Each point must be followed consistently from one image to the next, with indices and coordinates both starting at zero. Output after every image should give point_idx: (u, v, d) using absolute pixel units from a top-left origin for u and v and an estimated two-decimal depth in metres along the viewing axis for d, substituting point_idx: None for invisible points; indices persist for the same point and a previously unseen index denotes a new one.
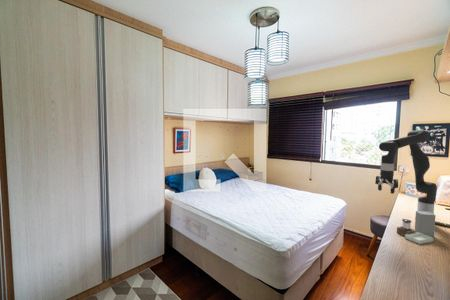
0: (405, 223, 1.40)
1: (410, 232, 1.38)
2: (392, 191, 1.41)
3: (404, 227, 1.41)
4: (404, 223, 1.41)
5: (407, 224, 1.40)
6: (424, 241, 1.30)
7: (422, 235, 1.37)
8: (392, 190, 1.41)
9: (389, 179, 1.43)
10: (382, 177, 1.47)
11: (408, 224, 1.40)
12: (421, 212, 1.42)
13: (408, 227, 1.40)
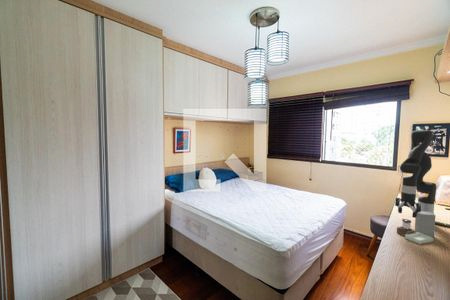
0: (405, 223, 1.40)
1: (410, 232, 1.38)
2: (414, 215, 1.36)
3: (404, 227, 1.41)
4: (404, 223, 1.41)
5: (407, 224, 1.40)
6: (424, 241, 1.30)
7: (422, 235, 1.37)
8: (414, 214, 1.36)
9: (411, 202, 1.38)
10: (403, 199, 1.42)
11: (408, 224, 1.40)
12: (421, 212, 1.42)
13: (408, 227, 1.40)
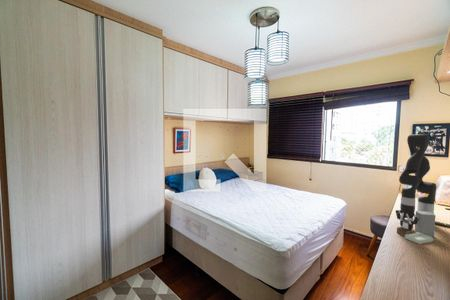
0: (405, 223, 1.40)
1: (410, 232, 1.38)
2: (410, 227, 1.38)
3: (404, 227, 1.41)
4: (404, 223, 1.41)
5: (407, 224, 1.40)
6: (424, 241, 1.30)
7: (422, 235, 1.37)
8: (410, 226, 1.38)
9: (410, 214, 1.38)
10: (402, 210, 1.43)
11: (408, 224, 1.40)
12: (421, 212, 1.42)
13: (408, 227, 1.40)
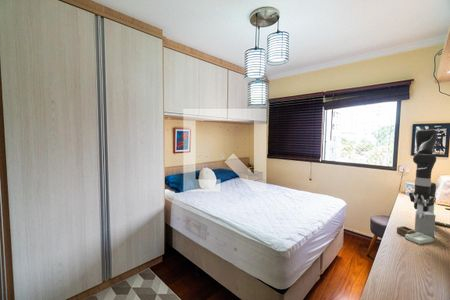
0: (420, 205, 1.32)
1: (410, 232, 1.38)
2: (426, 209, 1.30)
3: (419, 210, 1.32)
4: (419, 205, 1.32)
5: (422, 206, 1.31)
6: (424, 241, 1.30)
7: (422, 235, 1.37)
8: (426, 208, 1.30)
9: (426, 195, 1.29)
10: (416, 192, 1.34)
11: (423, 206, 1.31)
12: None
13: (423, 209, 1.31)
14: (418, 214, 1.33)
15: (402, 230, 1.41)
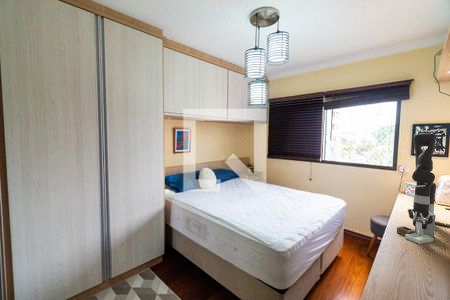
0: (418, 223, 1.32)
1: (410, 232, 1.38)
2: (424, 227, 1.30)
3: (417, 227, 1.33)
4: (417, 223, 1.33)
5: (421, 224, 1.32)
6: (424, 241, 1.30)
7: None
8: (424, 226, 1.30)
9: (424, 213, 1.30)
10: (415, 209, 1.35)
11: (422, 224, 1.32)
12: None
13: (422, 227, 1.32)
14: (417, 231, 1.33)
15: (402, 230, 1.41)
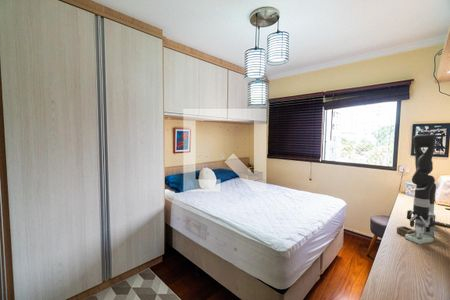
0: (418, 227, 1.33)
1: (410, 232, 1.38)
2: (428, 230, 1.29)
3: (417, 231, 1.33)
4: (417, 227, 1.33)
5: (420, 228, 1.32)
6: (424, 241, 1.30)
7: None
8: (428, 229, 1.29)
9: (424, 216, 1.30)
10: (415, 212, 1.35)
11: (421, 228, 1.32)
12: None
13: (421, 231, 1.32)
14: (417, 236, 1.33)
15: (402, 230, 1.41)
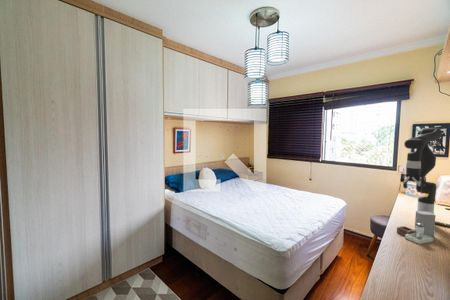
0: (418, 227, 1.33)
1: (410, 232, 1.38)
2: (419, 189, 1.39)
3: (417, 231, 1.33)
4: (417, 227, 1.33)
5: (420, 228, 1.32)
6: (424, 241, 1.30)
7: None
8: (419, 188, 1.39)
9: (416, 177, 1.41)
10: (408, 175, 1.46)
11: (422, 228, 1.32)
12: (421, 212, 1.42)
13: (422, 231, 1.32)
14: (417, 236, 1.33)
15: (402, 230, 1.41)
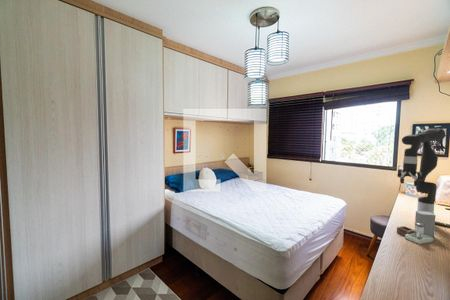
0: (418, 227, 1.33)
1: (410, 232, 1.38)
2: (416, 183, 1.44)
3: (417, 231, 1.33)
4: (417, 227, 1.33)
5: (420, 228, 1.32)
6: (424, 241, 1.30)
7: None
8: (416, 182, 1.44)
9: (412, 172, 1.45)
10: (405, 170, 1.50)
11: (421, 228, 1.32)
12: (421, 212, 1.42)
13: (421, 231, 1.32)
14: (417, 236, 1.33)
15: (402, 230, 1.41)
